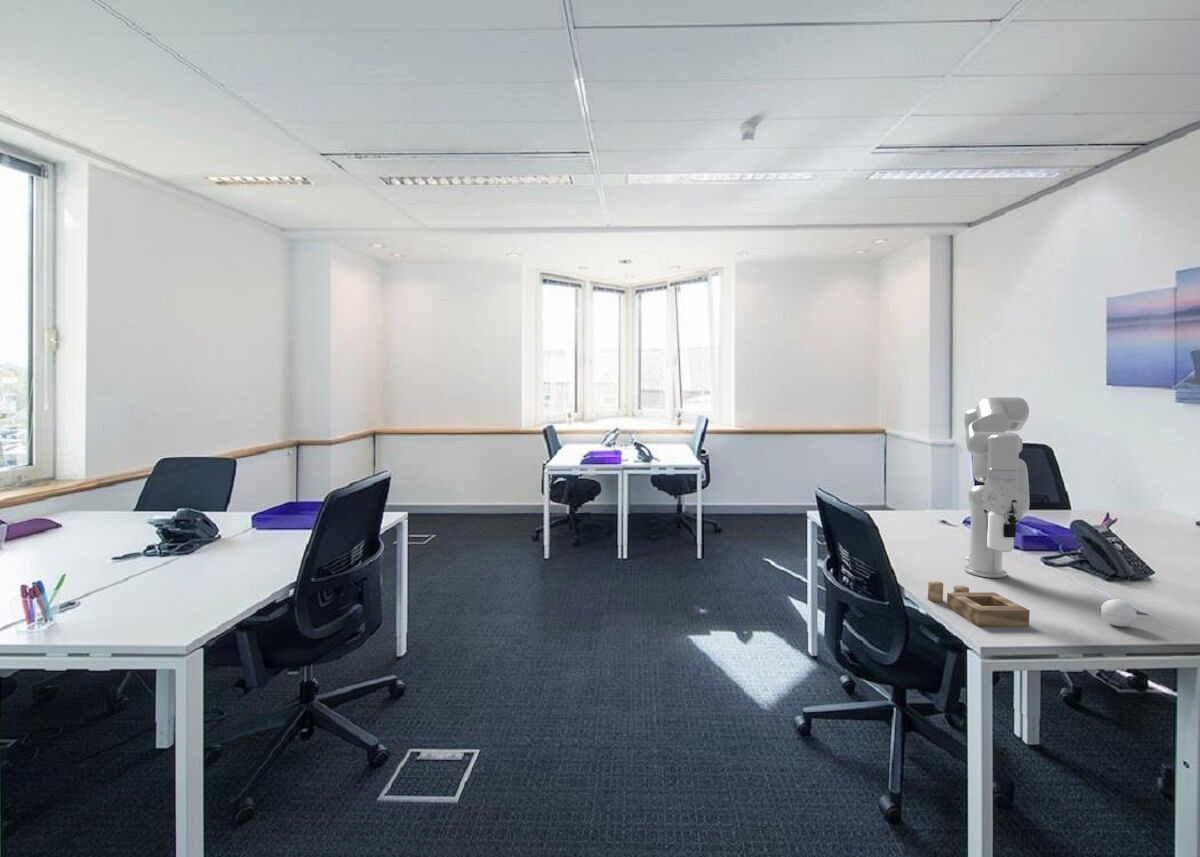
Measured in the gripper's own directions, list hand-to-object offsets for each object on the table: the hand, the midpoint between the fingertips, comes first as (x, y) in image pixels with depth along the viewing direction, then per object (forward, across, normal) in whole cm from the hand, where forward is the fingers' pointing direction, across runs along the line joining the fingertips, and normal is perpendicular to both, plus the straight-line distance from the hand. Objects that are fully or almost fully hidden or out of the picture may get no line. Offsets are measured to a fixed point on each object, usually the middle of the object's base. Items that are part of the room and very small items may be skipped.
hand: (1000, 533), depth 168 cm
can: (+5, 0, 0) cm, 5 cm away
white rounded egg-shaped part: (+22, +15, +21) cm, 34 cm away
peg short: (+22, -5, -8) cm, 24 cm away
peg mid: (+22, -5, -16) cm, 28 cm away
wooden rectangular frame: (+22, +8, -9) cm, 25 cm away
